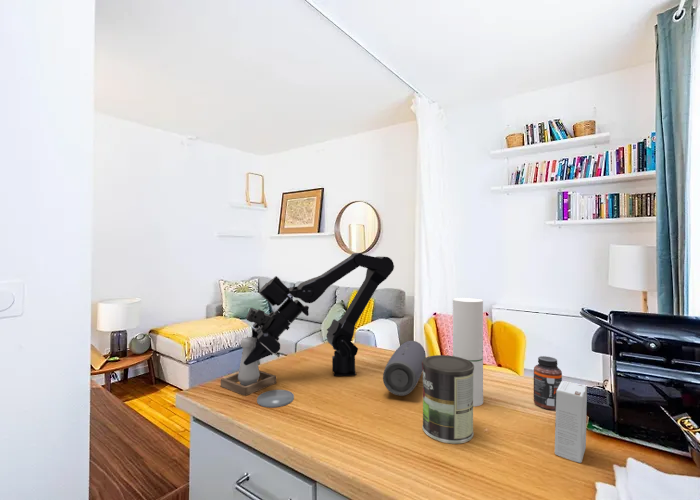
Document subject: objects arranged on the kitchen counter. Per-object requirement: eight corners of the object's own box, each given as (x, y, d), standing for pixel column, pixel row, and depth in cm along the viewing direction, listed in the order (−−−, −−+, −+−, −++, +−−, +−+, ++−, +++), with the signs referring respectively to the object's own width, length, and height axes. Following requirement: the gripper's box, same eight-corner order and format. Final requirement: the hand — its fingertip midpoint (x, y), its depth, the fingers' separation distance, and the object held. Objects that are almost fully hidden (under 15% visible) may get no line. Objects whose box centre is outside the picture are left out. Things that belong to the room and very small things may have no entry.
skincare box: (559, 441, 67) (559, 379, 67) (587, 449, 64) (587, 384, 64) (553, 455, 62) (553, 388, 62) (583, 465, 59) (583, 395, 59)
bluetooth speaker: (418, 403, 83) (417, 362, 83) (380, 398, 86) (380, 358, 86) (427, 372, 105) (427, 339, 105) (397, 369, 108) (397, 337, 108)
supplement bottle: (559, 413, 78) (558, 364, 78) (530, 405, 82) (530, 358, 82) (564, 405, 82) (564, 358, 82) (537, 397, 86) (537, 353, 86)
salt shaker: (262, 381, 97) (262, 335, 98) (255, 389, 92) (255, 340, 92) (242, 380, 98) (243, 335, 98) (234, 388, 92) (234, 340, 92)
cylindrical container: (484, 397, 87) (483, 298, 87) (482, 408, 80) (482, 302, 81) (455, 392, 90) (454, 297, 90) (450, 403, 83) (450, 300, 84)
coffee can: (427, 444, 66) (427, 370, 66) (418, 418, 76) (418, 354, 76) (481, 445, 65) (481, 371, 65) (465, 418, 76) (465, 355, 76)
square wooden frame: (252, 375, 102) (252, 368, 102) (276, 382, 96) (276, 375, 96) (220, 386, 94) (220, 379, 94) (244, 395, 88) (244, 388, 88)
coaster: (295, 391, 90) (295, 389, 90) (291, 407, 81) (291, 404, 81) (261, 392, 90) (261, 390, 90) (253, 408, 81) (253, 405, 81)
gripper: (260, 294, 105) (222, 332, 101) (267, 302, 88) (221, 349, 84) (285, 318, 108) (249, 356, 104) (297, 330, 90) (254, 377, 86)
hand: (243, 359), depth 94 cm, fingers open, 9 cm apart
